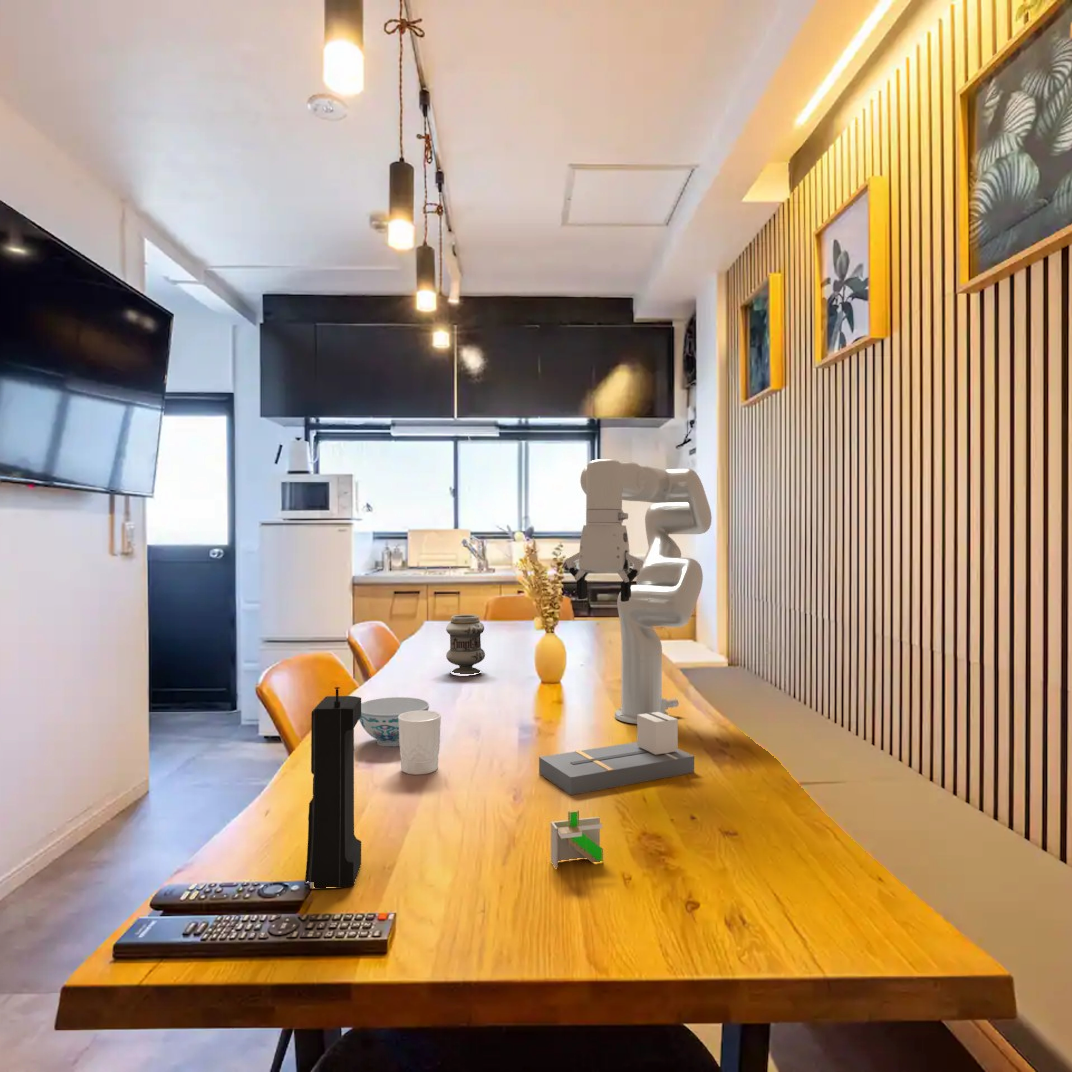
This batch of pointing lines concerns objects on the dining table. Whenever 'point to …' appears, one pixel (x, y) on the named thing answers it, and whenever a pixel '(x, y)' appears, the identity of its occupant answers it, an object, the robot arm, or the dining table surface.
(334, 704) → the portable radio
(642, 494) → the robot arm
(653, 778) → the board
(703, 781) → the dining table surface
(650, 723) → the fader tab
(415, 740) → the white cup
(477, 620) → the apothecary jar
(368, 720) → the chinaware
